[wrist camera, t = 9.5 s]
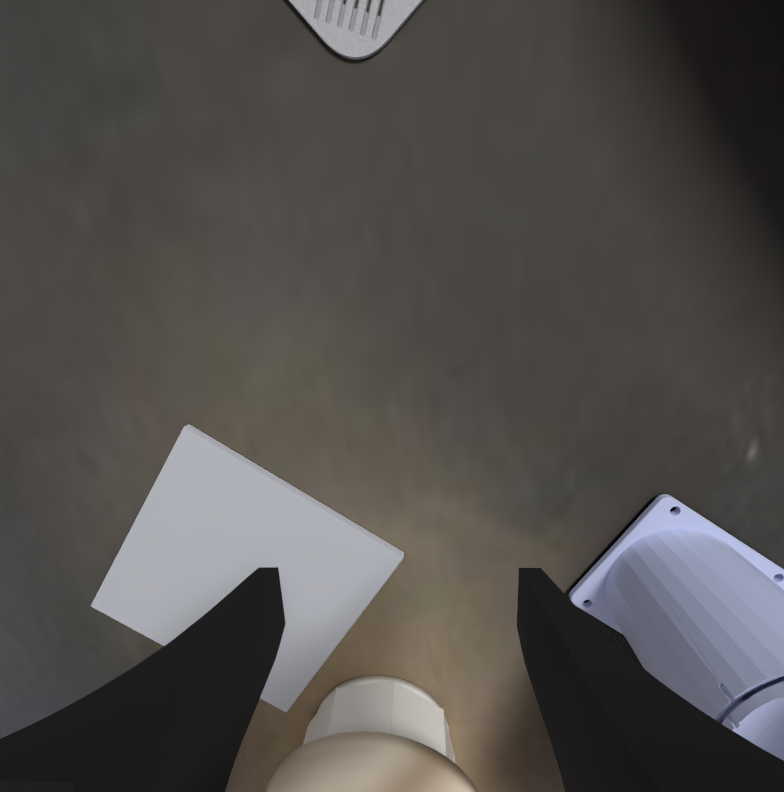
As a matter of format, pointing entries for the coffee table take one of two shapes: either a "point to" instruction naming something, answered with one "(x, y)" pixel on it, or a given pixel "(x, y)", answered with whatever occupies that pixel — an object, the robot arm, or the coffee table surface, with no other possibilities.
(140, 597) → the mat
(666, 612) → the robot arm
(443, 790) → the lid
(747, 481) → the coffee table surface
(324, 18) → the handheld gaming device
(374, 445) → the coffee table surface
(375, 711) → the bowl
